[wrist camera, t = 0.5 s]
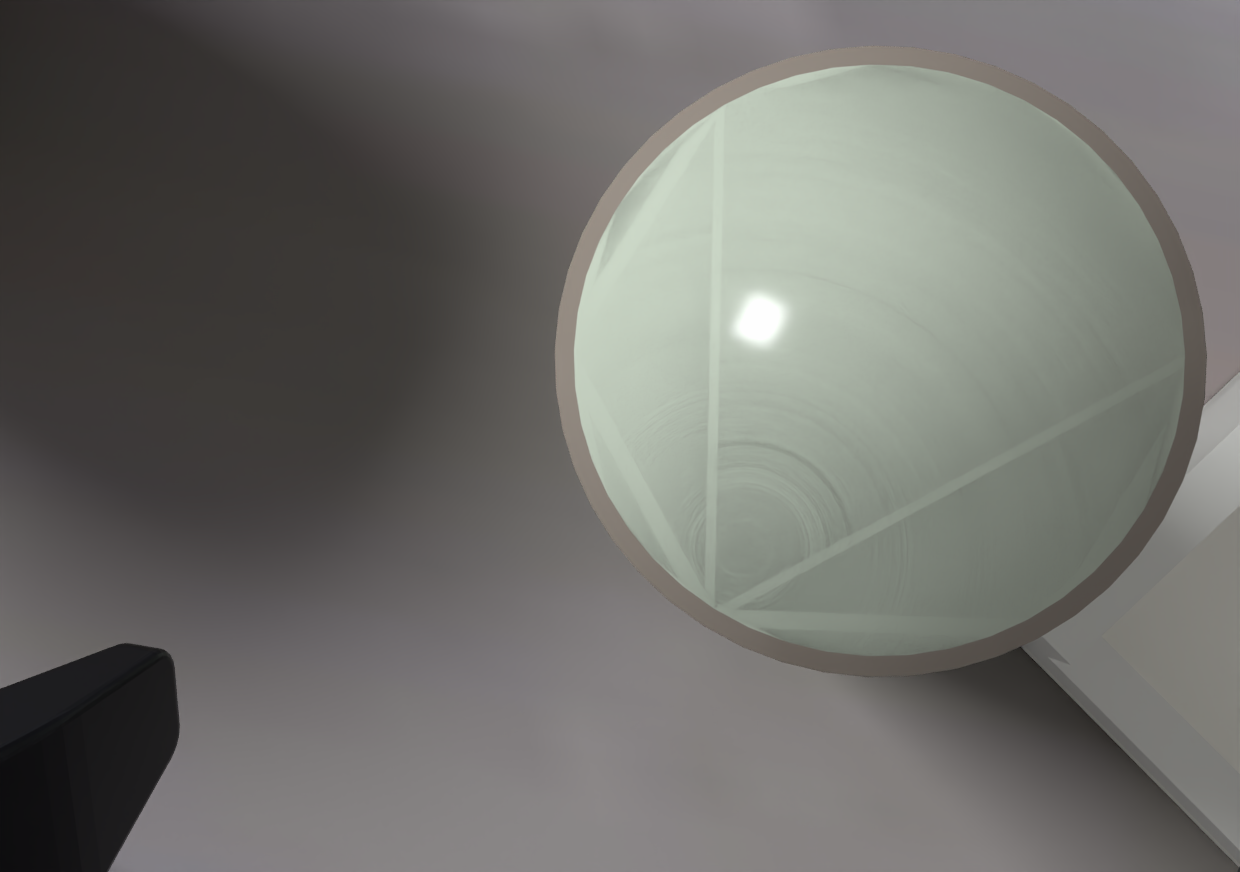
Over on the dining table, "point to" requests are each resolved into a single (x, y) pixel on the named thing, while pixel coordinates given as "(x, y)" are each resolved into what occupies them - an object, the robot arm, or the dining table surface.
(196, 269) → the dining table surface
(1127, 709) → the tray
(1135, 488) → the sage jar
